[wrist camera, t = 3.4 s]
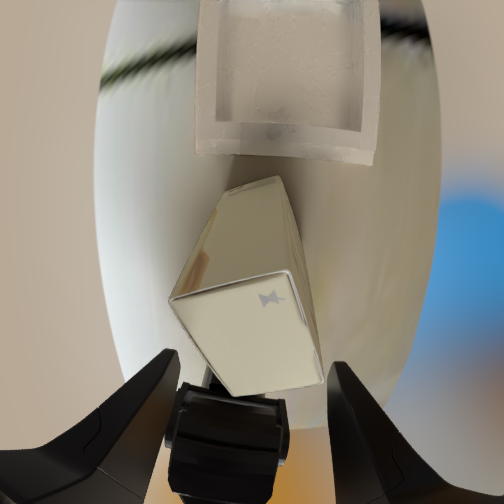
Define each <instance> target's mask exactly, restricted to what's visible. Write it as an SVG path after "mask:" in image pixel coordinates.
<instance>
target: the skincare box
mask: <svg viewBox="0 0 504 504" xmlns="http://www.w3.org/2000/svg"><path fill="white" fill-rule="evenodd" d="M168 302H169V305H170V306H171V308H172V310H173V312H174V314H175V316H176V317H177V319H178V321H179V322H180V324H181V326H182V327H183V329H184V331H185V332H186V334H187V335H188V337H189V339H190V340H191V341H192V343H193V345H194V346H195V348H196V349H197V350H198V352H199V353H200V355H201V356H202V358H203V359H204V360H205V362H206V363H207V364H208V366H209V367H210V368H211V370H212V371H213V372H214V374H215V375H216V376H217V378H218V379H219V380H220V381H221V383H222V384H223V385H224V386H225V387H226V389H227V390H228V391H229V392H230V394H231V395H232V396H234V397H237V396H246V395H256V394H265V393H273V392H280V391H286V390H293V389H299V388H305V387H310V386H316V385H320V384H322V383H323V382H324V371H323V364H322V357H321V350H320V343H319V337H318V331H317V324H316V318H315V312H314V306H313V300H312V295H311V289H310V284H309V278H308V273H307V267H306V262H305V257H304V251H303V246H302V243H301V239H300V235H299V231H298V228H297V224H296V221H295V218H294V215H293V211H292V208H291V205H290V202H289V199H288V196H287V193H286V191H285V188H284V185H283V183H282V180H281V177H280V176H279V175H277V176H273V177H269V178H265V179H262V180H258V181H255V182H251V183H248V184H245V185H242V186H239V187H236V188H234V189H231V190H228V191H226V192H224V193H223V195H222V197H221V198H220V200H219V202H218V204H217V205H216V207H215V209H214V211H213V213H212V215H211V217H210V219H209V220H208V222H207V224H206V226H205V228H204V230H203V231H202V234H201V235H200V237H199V239H198V241H197V243H196V245H195V247H194V249H193V251H192V253H191V255H190V257H189V259H188V261H187V263H186V265H185V267H184V269H183V271H182V273H181V275H180V277H179V279H178V281H177V283H176V285H175V287H174V289H173V291H172V293H171V295H170V297H169V300H168Z"/></svg>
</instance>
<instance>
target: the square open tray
mask: <svg viewBox="0 0 504 504" xmlns="http://www.w3.org/2000/svg"><path fill="white" fill-rule="evenodd" d="M380 86H381V34H380V14H379V1H378V0H200V7H199V20H198V36H197V56H196V86H195V154H238V155H265V156H283V157H297V158H309V159H320V160H329V161H338V162H347V163H354V164H362V165H369V166H372V165H373V156H374V152H376V144H377V134H378V122H379V107H380Z"/></svg>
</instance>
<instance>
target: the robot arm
mask: <svg viewBox="0 0 504 504" xmlns="http://www.w3.org/2000/svg"><path fill="white" fill-rule="evenodd" d="M179 374H180V361H179V357H178V352H177V351H176V350H174V349H168V348H166V349H164V350H163V351H161V352H160V353H159V354H158V355H157V356H156V357H155V358H153V359H152V360H151V361H150V362H149V363H148V364H147V365H146V366H144V367H143V368H142V369H141V370H140V371H139V372H138V373H136V374H135V375H134V376H133V377H132V378H131V379H130V380H128V381H127V382H126V383H125V384H124V385H123V386H122V387H121V388H119V389H118V390H117V391H116V392H115V393H114V394H112V395H111V396H110V397H109V398H108V399H107V400H105V402H103V403H102V404H101V405H100V406H99V408H96V409H95V410H94V411H93V412H92V413H90V414H89V415H88V416H86V417H85V418H84V419H83V420H81V421H80V422H79V423H77V424H76V425H75V426H73V427H72V428H70V429H69V430H67V431H66V432H64V433H63V434H61V435H59V436H58V437H56V438H55V439H53V440H52V441H50V442H49V443H47V444H45V445H43V446H41V447H37V448H34V449H22V450H0V504H143V503H144V499H145V496H146V493H147V489H148V486H149V482H150V479H151V476H152V473H153V469H154V466H155V463H156V459H157V456H158V453H159V450H160V447H161V443H162V440H163V437H164V438H165V447H167V448H170V449H171V454H170V461H169V467H168V482H169V485H170V487H171V490H172V492H173V493H177V494H179V496H180V498H181V500H182V502H183V503H184V504H266V503H267V502H268V500H269V499H270V498H271V496H272V492H273V485H274V481H275V476H276V472H277V468H278V466H282V465H283V464H284V462H285V460H286V457H287V454H288V449H289V441H290V432H289V424H288V417H287V410H286V403H285V399H269V398H265V394H256V395H246V396H237V397H234V396H232V395H231V394H230V392H229V391H228V390H227V389H226V387H225V386H224V385H223V384H222V383H221V381H220V380H219V379H218V378H217V376H216V375H215V374H214V372H213V371H212V370H211V368H210V367H209V366H208V364H207V366H206V370H205V374H204V378H203V382H202V386H201V387H200V386H195V385H191V384H190V383H187V382H183V384H182V386H181V388H179V389H178V391H176V389H177V384H178V379H179ZM327 414H328V428H329V435H330V445H331V453H332V463H333V473H334V483H335V484H334V485H335V496H336V504H504V495H502V496H493V495H488V494H484V493H479V492H475V491H471V490H467V489H464V488H459V487H456V486H454V485H452V484H450V483H448V482H446V481H445V480H444V479H443V478H442V477H440V476H439V475H438V474H437V473H436V472H435V471H434V470H433V469H432V468H431V467H430V466H429V465H428V464H427V463H426V462H425V461H424V460H423V459H422V458H421V457H420V455H418V454H417V452H416V451H415V450H414V449H413V448H412V447H411V445H410V444H409V443H408V442H407V440H406V439H405V438H404V437H403V435H402V434H401V433H400V432H399V430H398V429H397V428H396V427H395V425H394V424H393V422H392V421H391V420H390V419H389V417H388V416H387V415H386V414H385V412H384V411H383V410H382V408H381V407H380V406H379V404H378V403H377V402H376V400H375V399H374V398H373V397H372V395H371V394H370V393H369V391H368V390H367V389H366V388H365V386H364V385H363V384H362V382H361V381H360V380H359V379H358V377H357V376H356V375H355V373H354V372H353V371H352V370H351V368H350V367H349V366H348V364H347V363H346V362H344V361H335V362H333V363H332V366H331V369H330V371H329V374H328V378H327ZM398 432H399V433H398Z"/></svg>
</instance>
